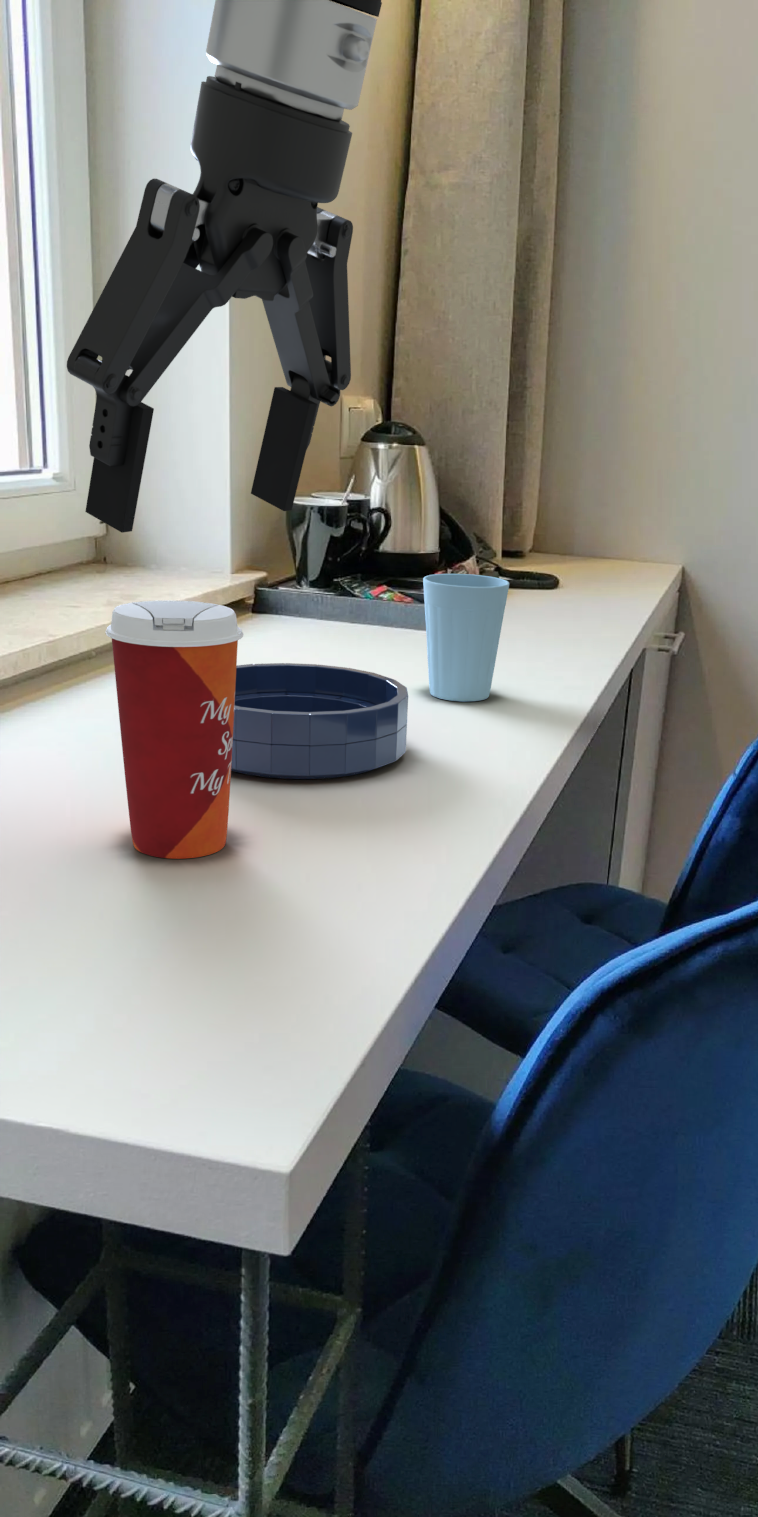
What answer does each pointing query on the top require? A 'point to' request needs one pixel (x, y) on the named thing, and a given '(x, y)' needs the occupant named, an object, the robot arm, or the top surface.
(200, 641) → the paper cup
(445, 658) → the cup
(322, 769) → the bowl
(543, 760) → the top surface
